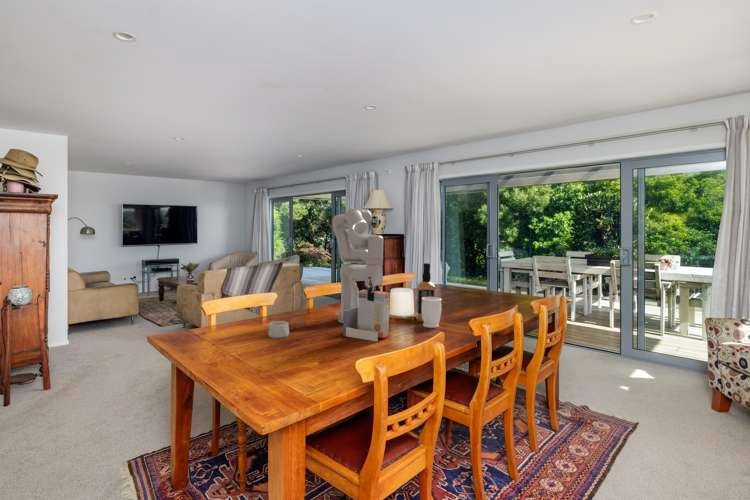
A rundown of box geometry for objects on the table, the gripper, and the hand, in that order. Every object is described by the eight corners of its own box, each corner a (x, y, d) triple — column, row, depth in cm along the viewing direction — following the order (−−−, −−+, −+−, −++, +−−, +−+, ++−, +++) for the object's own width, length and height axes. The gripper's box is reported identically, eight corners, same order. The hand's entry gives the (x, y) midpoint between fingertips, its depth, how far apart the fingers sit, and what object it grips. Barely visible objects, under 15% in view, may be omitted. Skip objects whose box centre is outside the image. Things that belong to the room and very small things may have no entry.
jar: (428, 329, 208) (429, 300, 207) (417, 324, 217) (417, 297, 216) (444, 327, 212) (445, 299, 211) (433, 322, 222) (434, 295, 221)
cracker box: (389, 335, 191) (390, 292, 189) (382, 338, 186) (383, 294, 184) (364, 330, 198) (365, 288, 197) (357, 333, 193) (358, 290, 191)
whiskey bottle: (435, 321, 225) (436, 264, 222) (417, 321, 225) (418, 264, 223) (432, 317, 235) (434, 262, 233) (415, 316, 235) (417, 262, 233)
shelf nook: (343, 335, 193) (343, 310, 192) (355, 330, 203) (356, 306, 203) (376, 341, 185) (377, 315, 184) (387, 335, 195) (388, 310, 194)
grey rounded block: (264, 335, 192) (264, 322, 191) (283, 331, 198) (283, 319, 197) (276, 341, 182) (276, 327, 182) (295, 337, 188) (295, 324, 188)
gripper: (376, 259, 199) (375, 295, 200) (358, 262, 183) (358, 301, 185) (389, 260, 195) (388, 297, 197) (373, 263, 180) (372, 303, 181)
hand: (373, 299), depth 191 cm, fingers closed on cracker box, 6 cm apart
